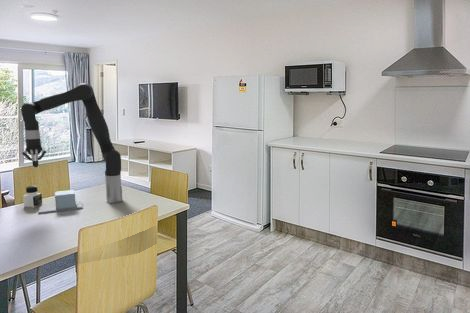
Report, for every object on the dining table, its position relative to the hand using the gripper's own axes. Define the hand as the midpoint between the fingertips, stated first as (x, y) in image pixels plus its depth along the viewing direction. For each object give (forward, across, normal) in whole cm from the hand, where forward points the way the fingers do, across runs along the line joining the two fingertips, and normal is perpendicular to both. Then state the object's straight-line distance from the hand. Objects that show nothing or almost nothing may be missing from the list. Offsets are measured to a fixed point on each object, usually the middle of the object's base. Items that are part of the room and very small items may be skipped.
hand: (35, 167), depth 209 cm
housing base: (+25, +12, -7) cm, 29 cm away
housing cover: (+24, +14, -7) cm, 29 cm away
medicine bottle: (+25, -4, +6) cm, 26 cm away
